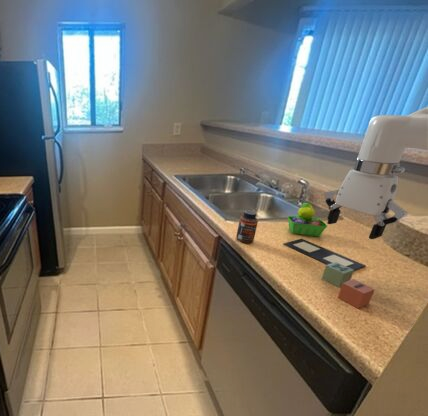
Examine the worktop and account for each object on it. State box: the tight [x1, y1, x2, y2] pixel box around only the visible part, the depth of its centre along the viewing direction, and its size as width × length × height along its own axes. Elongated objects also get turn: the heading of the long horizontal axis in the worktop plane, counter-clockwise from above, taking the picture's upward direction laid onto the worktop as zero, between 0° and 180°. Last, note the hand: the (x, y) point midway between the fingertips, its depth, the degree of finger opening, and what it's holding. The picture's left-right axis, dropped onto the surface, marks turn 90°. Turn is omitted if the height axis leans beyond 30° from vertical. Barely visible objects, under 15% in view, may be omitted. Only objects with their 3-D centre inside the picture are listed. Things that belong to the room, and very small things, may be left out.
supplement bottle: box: [235, 209, 259, 244], centre depth 101 cm, size 6×6×11 cm
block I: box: [337, 278, 376, 309], centre depth 71 cm, size 5×5×5 cm
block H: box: [321, 262, 355, 288], centre depth 78 cm, size 5×5×5 cm
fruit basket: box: [287, 202, 328, 237], centre depth 107 cm, size 11×9×11 cm
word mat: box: [282, 238, 366, 272], centre depth 93 cm, size 20×10×1 cm, turn 22°
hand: (351, 230), depth 74 cm, fingers open, 9 cm apart
